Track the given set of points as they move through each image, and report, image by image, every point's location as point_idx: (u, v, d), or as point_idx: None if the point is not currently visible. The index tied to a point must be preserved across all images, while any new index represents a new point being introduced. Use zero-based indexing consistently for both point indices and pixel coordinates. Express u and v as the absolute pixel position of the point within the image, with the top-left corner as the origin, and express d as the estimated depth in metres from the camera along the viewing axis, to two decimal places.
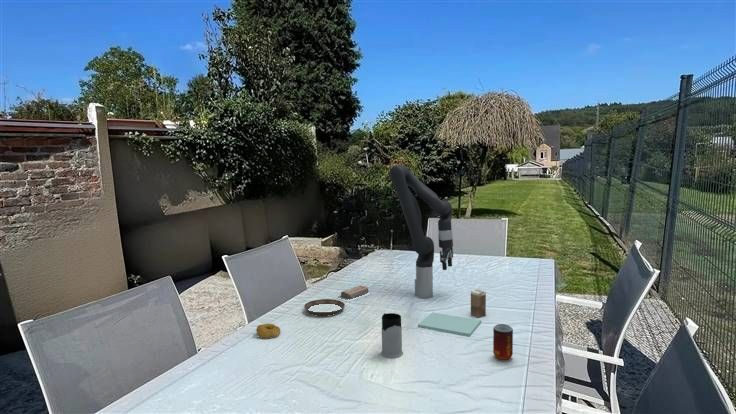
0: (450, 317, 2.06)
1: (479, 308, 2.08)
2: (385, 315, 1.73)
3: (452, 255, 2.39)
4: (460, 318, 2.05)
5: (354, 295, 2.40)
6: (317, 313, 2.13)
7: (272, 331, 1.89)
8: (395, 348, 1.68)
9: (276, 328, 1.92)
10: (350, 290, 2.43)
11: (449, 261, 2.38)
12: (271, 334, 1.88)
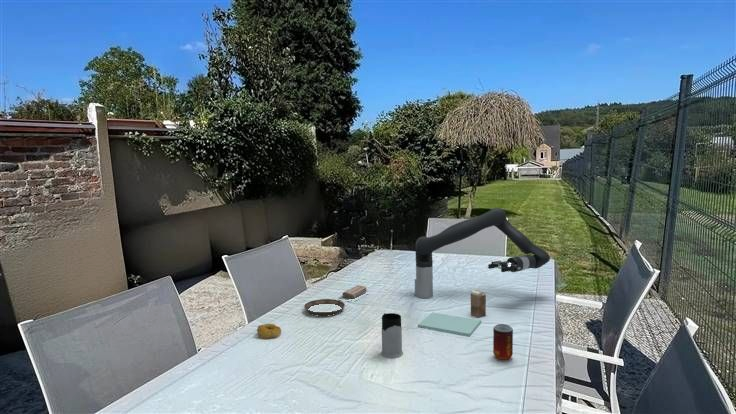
0: (450, 317, 2.06)
1: (479, 308, 2.08)
2: (385, 315, 1.73)
3: None
4: (460, 318, 2.05)
5: (356, 295, 2.40)
6: (317, 313, 2.13)
7: (273, 331, 1.89)
8: (395, 348, 1.68)
9: (277, 328, 1.92)
10: (351, 290, 2.43)
11: (493, 265, 2.20)
12: (271, 334, 1.88)
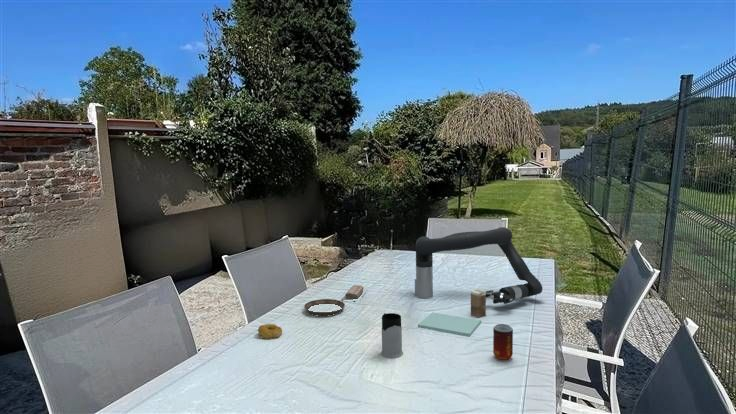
0: (450, 317, 2.06)
1: (479, 308, 2.08)
2: (385, 315, 1.73)
3: None
4: (460, 318, 2.05)
5: (359, 295, 2.41)
6: (317, 313, 2.13)
7: (274, 331, 1.89)
8: (395, 348, 1.68)
9: (278, 328, 1.91)
10: (352, 290, 2.42)
11: None
12: (272, 334, 1.88)
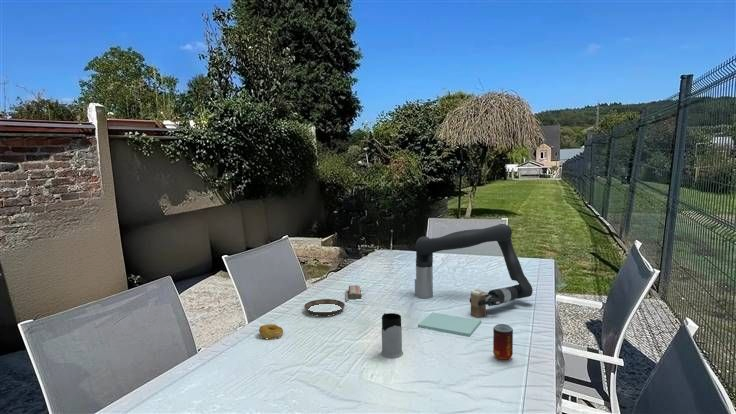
0: (450, 317, 2.06)
1: (479, 308, 2.08)
2: (385, 315, 1.73)
3: None
4: (460, 318, 2.05)
5: None
6: (317, 313, 2.13)
7: (275, 332, 1.88)
8: (395, 348, 1.68)
9: (279, 329, 1.91)
10: (354, 290, 2.42)
11: None
12: (273, 334, 1.88)
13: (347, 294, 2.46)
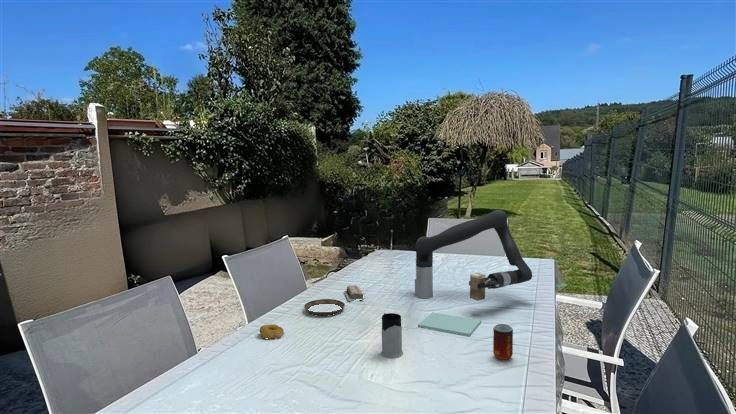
0: (450, 317, 2.06)
1: (479, 290, 2.07)
2: (385, 315, 1.73)
3: None
4: (460, 318, 2.05)
5: None
6: (317, 313, 2.13)
7: (275, 332, 1.88)
8: (395, 348, 1.68)
9: (279, 329, 1.91)
10: (354, 290, 2.42)
11: None
12: (274, 334, 1.87)
13: (347, 294, 2.46)
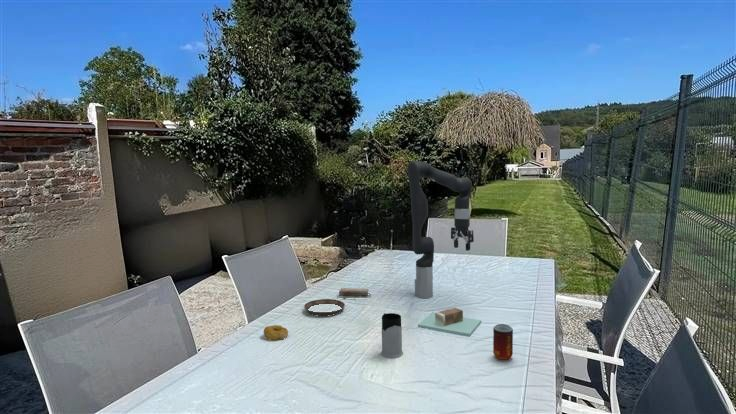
0: None
1: (455, 321, 1.98)
2: (385, 315, 1.73)
3: None
4: None
5: None
6: (317, 313, 2.13)
7: (280, 333, 1.87)
8: (395, 348, 1.68)
9: (284, 330, 1.90)
10: (359, 289, 2.44)
11: (456, 242, 2.25)
12: (278, 335, 1.86)
13: (351, 297, 2.41)
